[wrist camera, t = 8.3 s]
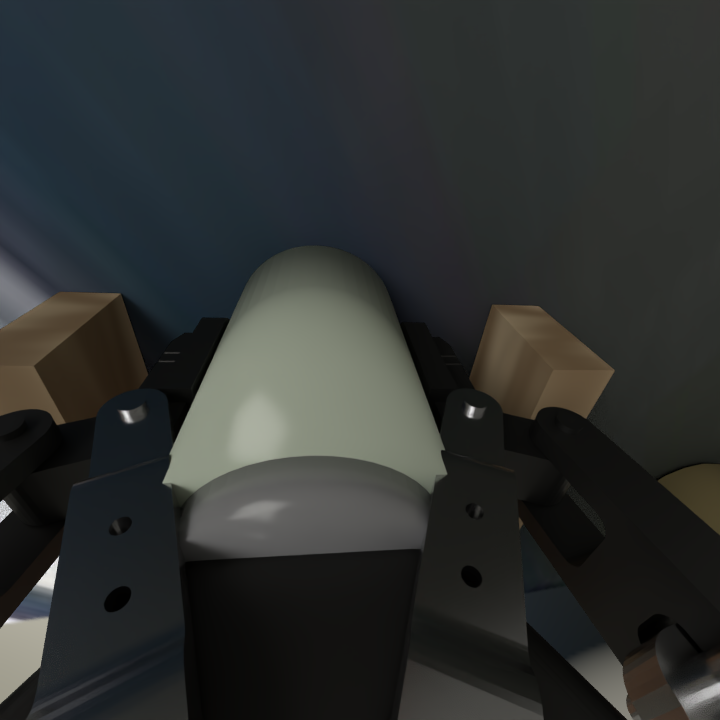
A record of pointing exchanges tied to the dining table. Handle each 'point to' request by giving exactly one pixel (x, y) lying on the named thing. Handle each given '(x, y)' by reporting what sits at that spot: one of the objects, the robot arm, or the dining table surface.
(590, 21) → the dining table surface
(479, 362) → the lane
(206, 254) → the dining table surface
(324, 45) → the dining table surface
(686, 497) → the squeeze bottle
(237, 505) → the sage jar
